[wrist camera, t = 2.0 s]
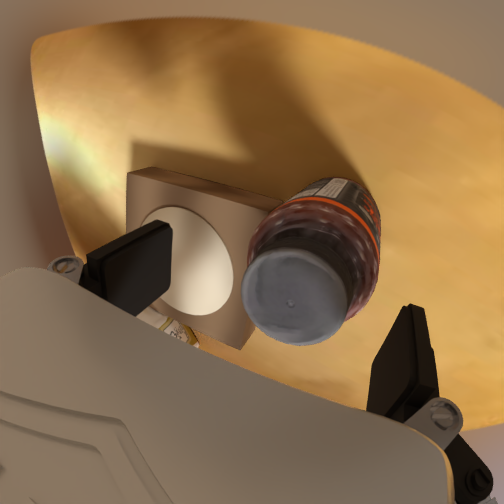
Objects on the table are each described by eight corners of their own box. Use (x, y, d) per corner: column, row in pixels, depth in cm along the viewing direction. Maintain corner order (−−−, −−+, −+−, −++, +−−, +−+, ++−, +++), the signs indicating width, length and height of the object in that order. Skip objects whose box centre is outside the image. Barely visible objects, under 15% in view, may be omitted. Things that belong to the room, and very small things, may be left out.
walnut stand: (283, 201, 21) (267, 212, 18) (254, 330, 27) (239, 351, 24) (151, 166, 24) (125, 173, 22) (148, 282, 30) (128, 296, 27)
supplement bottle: (390, 248, 19) (389, 359, 10) (312, 266, 22) (250, 372, 13) (365, 163, 18) (348, 198, 8) (283, 189, 21) (191, 247, 11)
